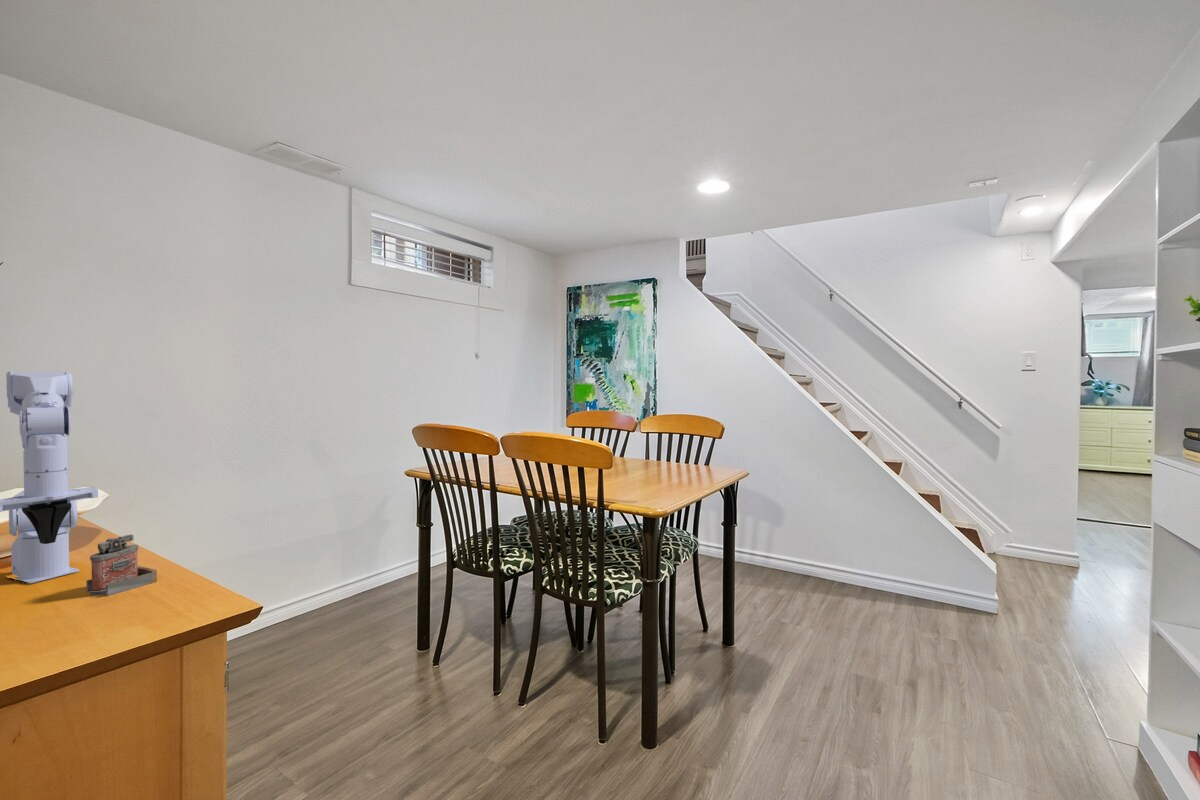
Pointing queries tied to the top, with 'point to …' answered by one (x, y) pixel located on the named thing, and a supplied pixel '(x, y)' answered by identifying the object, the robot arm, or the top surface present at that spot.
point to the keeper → (129, 581)
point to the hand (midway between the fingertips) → (47, 542)
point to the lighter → (113, 563)
